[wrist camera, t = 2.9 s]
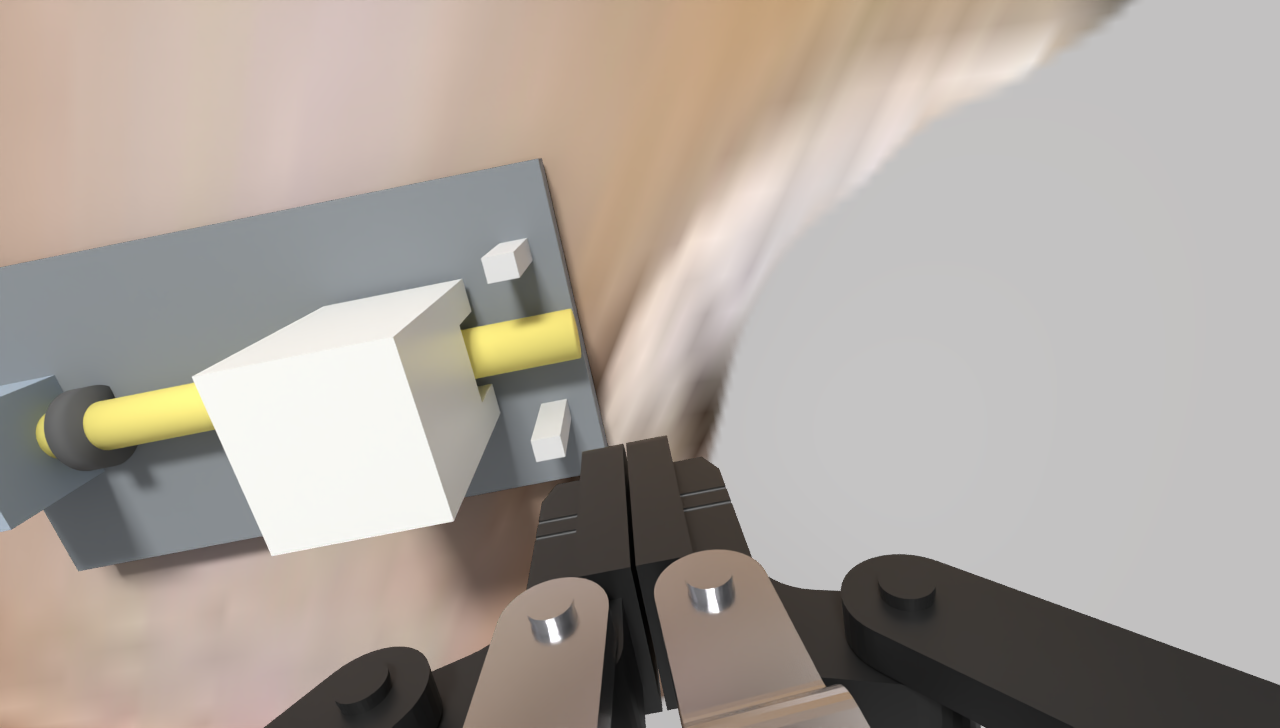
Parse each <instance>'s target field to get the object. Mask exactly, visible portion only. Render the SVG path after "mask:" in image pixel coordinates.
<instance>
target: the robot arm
mask: <svg viewBox="0 0 1280 728" xmlns="http://www.w3.org/2000/svg"><path fill="white" fill-rule="evenodd" d="M626 447H627V456H626V452H625V448H624V445H623V444H620V445H614V446H609V447H604V448H599V449H593V450H588V451H583V452H582V459H581V473H580V480H578V481H573V482H568V483H562V484H557V485H556V486H555V487H554V489H553V490H552V491H551V492H550V494H549V495H548V496H547V497H546V498H545V500H544V501H543V502H542V506H541V511H540V517H539V525H538V528H537V534H536V541H535V545H534V551H533V556H532V562H531V567H530V573H529V579H528V584H527V590H526V591H524V592H523V593H521V594H520V595H518V596H517V597H516V598H515V599H514V600H513V601H511V602H510V603H509V605H508V606H507V607H506V608H505V609H504V611H503V612H502V614H501V615H500V617H499V620H498V622H497V625H496V628H495V631H494V634H493V637H492V640H491V643H490V645H488V646H486V647H485V648H483V649H481V650H479V651H477V652H475V653H473V654H471V655H469V656H467V657H465V658H462V659H460V660H458V661H455V662H453V663H451V664H448V665H446V666H444V667H442V668H439V669H437V670H435V671H432V672H431V669H430V666H429V663H428V661H427V659H426V657H425V656H424V655H423V654H422V653H421V652H419V651H418V650H415V649H413V648H409V647H390V648H384V649H380V650H376V651H373V652H370V653H368V654H365V655H363V656H361V657H359V658H357V659H355V660H353V661H351V662H349V663H348V664H346V665H344V666H343V667H341V668H340V669H339V670H337V671H336V672H334V673H333V674H332V675H330V676H329V677H328V678H327V679H325V680H324V681H323V682H322V683H320V684H319V685H318V686H316V687H315V688H314V689H313V690H311V691H310V692H309V693H307V694H306V695H305V696H304V697H302V698H301V699H300V700H299V701H297V702H296V703H295V704H293V705H292V706H291V707H290V708H288V709H287V710H286V711H285V712H283V713H282V714H281V715H279V716H278V717H277V718H276V719H274V720H273V721H272V722H270V723H269V724H268V725H267V726H265V727H264V728H646V724H645V715H646V714H651V713H657V712H662V701H661V692H660V682H659V674H660V678H661V683H662V688H663V692H664V697H665V701H666V706H667V710H671V709H676V708H678V710H679V715H680V720H681V725H682V728H981V725H982V726H984V727H985V728H1280V685H1277V684H1275V683H1272V682H1270V681H1267V680H1264V679H1261V678H1258V677H1256V676H1253V675H1250V674H1247V673H1245V672H1242V671H1239V670H1237V669H1234V668H1231V667H1228V666H1225V665H1222V664H1220V663H1217V662H1214V661H1212V660H1209V659H1206V658H1203V657H1201V656H1198V655H1195V654H1192V653H1190V652H1187V651H1184V650H1181V649H1179V648H1176V647H1173V646H1170V645H1167V644H1165V643H1162V642H1159V641H1156V640H1154V639H1151V638H1148V637H1145V636H1142V635H1140V634H1137V633H1134V632H1132V631H1129V630H1126V629H1123V628H1121V627H1118V626H1115V625H1112V624H1110V623H1107V622H1104V621H1101V620H1098V619H1096V618H1093V617H1090V616H1087V615H1085V614H1082V613H1079V612H1076V611H1074V610H1071V609H1068V608H1065V607H1062V606H1060V605H1057V604H1054V603H1051V602H1049V601H1046V600H1043V599H1040V598H1038V597H1035V596H1032V595H1029V594H1027V593H1024V592H1021V591H1018V590H1015V589H1013V588H1010V587H1007V586H1005V585H1002V584H999V583H996V582H994V581H991V580H988V579H985V578H983V577H980V576H977V575H974V574H971V573H969V572H966V571H963V570H960V569H958V568H955V567H952V566H949V565H947V564H943V563H941V562H938V561H935V560H932V559H929V558H925V557H920V556H915V555H905V554H897V555H896V554H893V555H884V556H879V557H875V558H871V559H868V560H866V561H863V562H862V563H860V564H858V565H856V566H855V567H854V568H852V569H851V570H850V571H849V572H848V574H847V575H846V576H845V578H844V580H843V582H842V586H841V591H828V590H809V589H801V588H796V587H792V586H788V585H785V584H782V583H780V582H778V581H775V580H773V579H772V578H770V577H768V575H767V573H766V572H765V570H764V568H763V567H762V566H761V565H760V564H759V563H758V562H757V561H756V560H754V559H753V558H752V557H751V554H750V551H749V548H748V546H747V543H746V541H745V538H744V535H743V532H742V529H741V527H740V524H739V521H738V519H737V516H736V513H735V510H734V508H733V505H732V503H731V500H730V497H729V494H728V491H727V489H726V487H725V483H724V481H723V478H722V475H721V473H720V470H719V468H717V467H716V466H714V465H713V464H712V463H710V462H709V461H707V460H706V459H704V458H703V457H698V458H693V459H688V460H682V461H677V462H673V461H672V457H671V452H670V448H669V444H668V439H667V435H666V436H661V437H656V438H650V439H645V440H640V441H635V442H629V443H626ZM627 459H628V461H627ZM658 669H659V673H658Z"/></svg>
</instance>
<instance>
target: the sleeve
mask: <svg viewBox="0 0 1280 728" xmlns="http://www.w3.org/2000/svg"><path fill="white" fill-rule="evenodd" d="M471 312H472V311H471V308H470V304H469V301H468V297H467V294H466V290H465V287H464V283H463V280H462V279H458V280H453V281H448V282H443V283H438V284H433V285H428V286H423V287H418V288H413V289H408V290H403V291H398V292H393V293H388V294H383V295H378V296H373V297H368V298H363V299H358V300H353V301H348V302H343V303H338V304H332V305H327V306H323V307H321V308H319V309H318V310H316V311H314V312H312V313H310V314H308V315H306V316H304V317H303V318H301V319H299V320H297V321H295V322H293V323H291V324H290V325H288V326H286V327H284V328H282V329H280V330H278V331H276V332H275V333H273V334H271V335H269V336H267V337H265V338H263V339H261V340H260V341H258V342H256V343H254V344H252V345H250V346H248V347H246V348H245V349H243V350H241V351H239V352H237V353H235V354H233V355H231V356H230V357H228V358H226V359H224V360H222V361H220V362H218V363H216V364H215V365H213V366H211V367H209V368H207V369H205V370H203V371H201V372H200V373H198V374H196V375H194V376H192V379H193V381H194V383H195V385H196V388H197V390H198V392H199V394H200V397H201V399H202V401H203V403H204V406H205V408H206V410H207V412H208V415H209V417H210V419H211V421H212V423H213V426H214V428H215V430H216V432H217V435H218V437H219V439H220V441H221V444H222V446H223V448H224V450H225V453H226V455H227V457H228V459H229V461H230V464H231V466H232V468H233V470H234V473H235V475H236V477H237V479H238V482H239V484H240V486H241V488H242V491H243V493H244V495H245V497H246V499H247V502H248V504H249V506H250V508H251V511H252V513H253V515H254V517H255V520H256V522H257V524H258V526H259V529H260V531H261V533H262V535H263V537H264V540H265V542H266V544H267V546H268V549H269V551H270V553H271V555H272V556H274V555H280V554H285V553H290V552H295V551H301V550H306V549H311V548H316V547H322V546H327V545H332V544H337V543H343V542H348V541H353V540H358V539H364V538H369V537H374V536H379V535H385V534H390V533H395V532H400V531H406V530H411V529H416V528H421V527H427V526H432V525H437V524H442V523H448V522H453V521H454V520H455V518H456V515H457V513H458V511H459V508H460V506H461V504H462V501H463V499H464V497H465V494H466V492H467V490H468V487H469V485H470V483H471V480H472V478H473V476H474V473H475V471H476V469H477V466H478V464H479V462H480V459H481V457H482V455H483V452H484V450H485V448H486V445H487V443H488V441H489V438H490V436H491V434H492V432H493V429H494V427H495V425H496V422H497V420H498V418H499V415H500V410H499V406H498V402H497V399H496V395H495V392H494V388H493V385H492V384H488V385H483V386H477V384H476V380H475V377H474V373H473V370H472V367H471V363H470V360H469V356H468V353H467V349H466V346H465V343H464V339H463V336H462V332H461V329H460V326H459V325H460V324H461V323H462V322H463V321H464V319H465V318H466V317H467V316H468V315H469V314H470V313H471Z"/></svg>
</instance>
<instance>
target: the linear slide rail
mask: <svg viewBox="0 0 1280 728" xmlns="http://www.w3.org/2000/svg"><path fill="white" fill-rule="evenodd" d="M458 279H462V280H463V283H464V287H465V290H466V294H467V297H468V301H469V304H470V308H471V311H472V312H471V313H470V314H469V315H468V316H467V317H466V318H465V319H464V321H463V322H462V323H461V324H460V325H459V326H460V329H461V332H462V336H463V339H464V343H465V346H466V349H467V353H468V356H469V360H470V363H471V367H472V370H473V373H474V377H475V380H476V384H477V386H483V385H488V384H492V385H493V388H494V392H495V395H496V399H497V402H498V406H499V410H500V415H499V418H498V420H497V422H496V425H495V427H494V429H493V432H492V434H491V436H490V438H489V441H488V443H487V445H486V448H485V450H484V452H483V455H482V457H481V459H480V462H479V464H478V466H477V469H476V471H475V473H474V476H473V478H472V480H471V483H470V485H469V487H468V490H467V492H466V494H465V497H469V496H474V495H480V494H485V493H490V492H495V491H501V490H506V489H511V488H516V487H521V486H527V485H532V484H537V483H542V482H548V481H553V480H558V479H563V478H568V477H574V476H579V475H580V473H581V459H582V452H583V451H588V450H593V449H599V448H604V447H608V445H607V441H606V436H605V432H604V427H603V423H602V419H601V414H600V410H599V406H598V401H597V397H596V393H595V388H594V384H593V380H592V375H591V371H590V366H589V362H588V358H587V353H586V349H585V345H584V340H583V336H582V332H581V327H580V323H579V319H578V314H577V310H576V305H575V301H574V297H573V292H572V288H571V284H570V279H569V275H568V271H567V266H566V262H565V258H564V253H563V249H562V244H561V240H560V236H559V231H558V227H557V223H556V218H555V214H554V210H553V205H552V201H551V197H550V192H549V188H548V183H547V179H546V175H545V170H544V166H543V162H542V158H541V159H534V160H529V161H524V162H519V163H514V164H509V165H505V166H500V167H495V168H490V169H485V170H480V171H475V172H470V173H465V174H460V175H455V176H450V177H445V178H440V179H435V180H430V181H425V182H420V183H415V184H411V185H406V186H401V187H396V188H391V189H386V190H381V191H376V192H371V193H366V194H361V195H356V196H351V197H346V198H341V199H336V200H331V201H326V202H322V203H317V204H312V205H307V206H302V207H297V208H292V209H287V210H282V211H277V212H272V213H267V214H262V215H257V216H252V217H247V218H242V219H237V220H233V221H228V222H223V223H218V224H213V225H208V226H203V227H198V228H193V229H188V230H183V231H178V232H173V233H168V234H163V235H158V236H153V237H148V238H144V239H139V240H134V241H129V242H124V243H119V244H114V245H109V246H104V247H99V248H94V249H89V250H84V251H79V252H74V253H69V254H64V255H59V256H55V257H50V258H45V259H40V260H35V261H30V262H25V263H20V264H15V265H10V266H5V267H0V532H2V531H7V530H12V529H13V528H15V527H16V526H18V525H20V524H21V523H23V522H24V521H26V520H28V519H29V518H31V517H32V516H34V515H35V514H37V513H39V512H40V511H42V510H44V512H45V513H46V515H47V517H48V519H49V520H50V522H51V524H52V526H53V527H54V529H55V531H56V533H57V535H58V536H59V538H60V540H61V542H62V543H63V545H64V547H65V549H66V550H67V552H68V554H69V556H70V557H71V559H72V561H73V563H74V564H75V566H76V568H77V570H78V571H82V570H87V569H93V568H98V567H103V566H108V565H114V564H119V563H124V562H129V561H134V560H140V559H145V558H150V557H155V556H161V555H166V554H171V553H176V552H182V551H187V550H192V549H197V548H202V547H208V546H213V545H218V544H223V543H229V542H234V541H239V540H244V539H250V538H255V537H260V536H263V535H262V533H261V531H260V529H259V526H258V524H257V522H256V520H255V517H254V515H253V513H252V511H251V508H250V506H249V504H248V502H247V499H246V497H245V495H244V493H243V491H242V488H241V486H240V484H239V482H238V479H237V477H236V475H235V473H234V470H233V468H232V466H231V464H230V461H229V459H228V457H227V455H226V453H225V450H224V448H223V446H222V444H221V441H220V439H219V437H218V435H217V432H216V430H215V428H214V426H213V423H212V421H211V419H210V417H209V415H208V412H207V410H206V408H205V406H204V403H203V401H202V399H201V397H200V394H199V392H198V390H197V388H196V385H195V383H194V381H193V379H192V376H194V375H196V374H198V373H200V372H201V371H203V370H205V369H207V368H209V367H211V366H213V365H215V364H216V363H218V362H220V361H222V360H224V359H226V358H228V357H230V356H231V355H233V354H235V353H237V352H239V351H241V350H243V349H245V348H246V347H248V346H250V345H252V344H254V343H256V342H258V341H260V340H261V339H263V338H265V337H267V336H269V335H271V334H273V333H275V332H276V331H278V330H280V329H282V328H284V327H286V326H288V325H290V324H291V323H293V322H295V321H297V320H299V319H301V318H303V317H304V316H306V315H308V314H310V313H312V312H314V311H316V310H318V309H319V308H321V307H323V306H327V305H332V304H338V303H343V302H348V301H353V300H358V299H363V298H368V297H373V296H378V295H383V294H388V293H393V292H398V291H403V290H408V289H413V288H418V287H423V286H428V285H433V284H438V283H443V282H448V281H453V280H458Z"/></svg>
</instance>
